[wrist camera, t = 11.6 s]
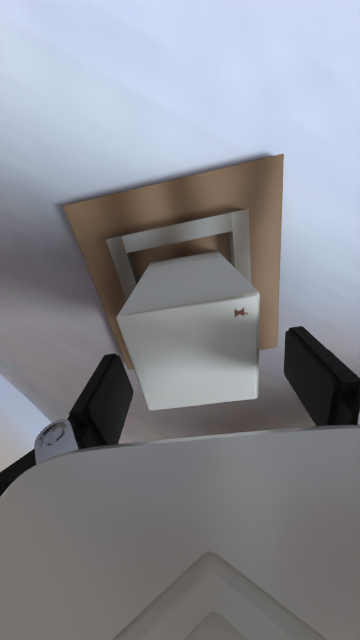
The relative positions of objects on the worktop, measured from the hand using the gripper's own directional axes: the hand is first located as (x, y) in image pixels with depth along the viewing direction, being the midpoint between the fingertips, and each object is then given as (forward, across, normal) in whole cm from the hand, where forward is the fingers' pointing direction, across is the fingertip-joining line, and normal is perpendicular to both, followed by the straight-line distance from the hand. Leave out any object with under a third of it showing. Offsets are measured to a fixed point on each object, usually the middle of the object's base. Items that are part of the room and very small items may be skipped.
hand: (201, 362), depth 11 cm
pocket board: (+14, +1, -1) cm, 14 cm away
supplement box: (+13, +1, 0) cm, 13 cm away
